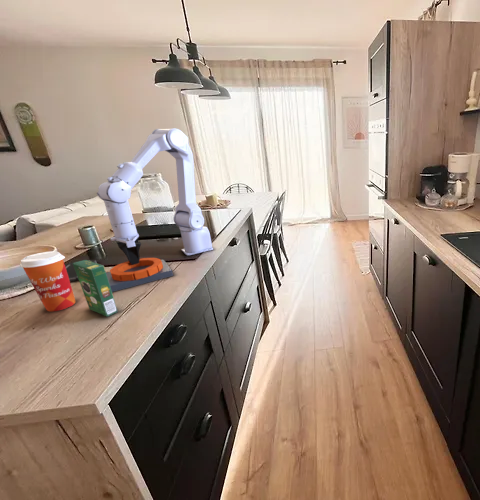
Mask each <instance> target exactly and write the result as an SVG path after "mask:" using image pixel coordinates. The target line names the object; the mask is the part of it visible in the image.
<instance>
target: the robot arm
mask: <svg viewBox="0 0 480 500" xmlns="http://www.w3.org/2000/svg"><path fill="white" fill-rule="evenodd" d="M159 152H167V153H169V155H170V156H172V157H173V158H174V159H175V167H176V180H177V181H176V182H177V193H178V204H177V205H176V207H174V208H175V209H174V211H175V212H174V215H173V222H174V224H175V225H176V226H177V227H178V229H179V232H180V235H181V240H182V241H181V242H182V244H183V248H181V251H182V252H183V253H184V254H185V255H186V256H192V255H193V256H194V255H197V254H200V253H205V252H209V251H213V250H214V247H213V244H212V238H211V234H210V230H209V228H208V227H207V226H204V225H205V217H204V215H203V211H202V208H200V206H199V205H198V204H197V199H196V183H195V182H196V181H195V165H194V163H195V162H194V153H193V152H192V149H191V146H190V145H189V137H188V136H187V135H186V134H185V133H184V132H183V131H182V130H181V129H179V128H174V127H173V128H155V129H154V130H153V131H152V132H151V133H150V134H149V135H148V136H147V138H146V140H145V142H144V143H143V145H142V146H141V147H140V148H139V150H138V151H137V152H136V154H134V156H133V158H131V160H130V161H124V162H122V163H118V164H117V166H116V167H117V169H116V170H115V171H114V173H113V174H112V175H111V176H108V177H107V178H106V181H105V182H102V183H101V184H100V185H99V186H98V188H97V192H96V195H97V197H98V198H99V199H101V201H103V203H104V206H105V210H106V213H107V216H108V219H109V222H110V225H111V229H112V233H113V235H114V236H112V237H111V236H110V238H109V239H110V241H111V242H114V241H115V242H116V244H117V246H118V248H119V250H121V251H122V252H123V253H124V255H125V256H126V258H127V261H129V262H130V263H131V265H134V264H138V263H139V259H140V250H141V245H142V242H141V241H139V237H140V235H139V233H138V230H137V227H136V223H135V219H134V216H133V213H132V209H131V206H130V201H129V199H131V196H132V193H131V191H132V189H133V188H134V187H135V186H136V185H137V184H138V183H139V181H140V180H141V178H142V177H143V176H144V171H143V169H144V168H145V167H146V166H147V164H148V163H150V161H152V159H153V158H154V157H155V156H156V155H157V154H158V153H159Z"/></svg>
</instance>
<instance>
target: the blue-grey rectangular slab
mask: <svg viewBox="0 0 480 500" xmlns="http://www.w3.org/2000/svg"><path fill="white" fill-rule="evenodd" d="M160 260H161V261H162V264H163V268H162V269H161V270H160V271H159V272H158V273H156V274H153V275H151V276H148V277H145V278H141V279H137V280H136V279H135V280H131V281H117V280H114V279H113V278H112V275H111V272H110V271H106V275H107V278H108V281H109V285H110V288H111V291H112V293H114V292H118V291H121V290H126V289H129V288H133V287H136V286H141V285H143V284H144V285H145V284H148V283H152V282H154V281H159V280H162V279H166V278H170V277H173V276H174V273H173V270H172V268H171V267H170V266H169V264H168V263H167V262H166V261H165V259H160ZM148 267H150V266H149V265H147V266H139V267H134V268H131V269H128V270H126V271H124V272H133V271H138V270H142V269H145V268H148Z"/></svg>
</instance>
